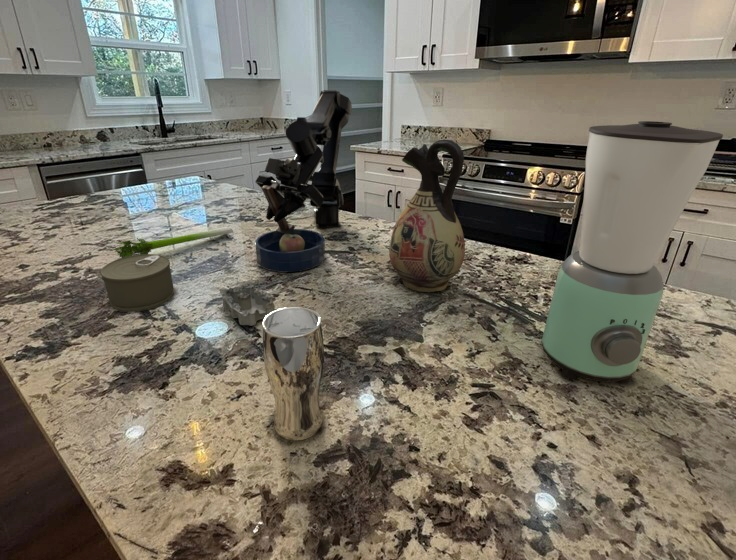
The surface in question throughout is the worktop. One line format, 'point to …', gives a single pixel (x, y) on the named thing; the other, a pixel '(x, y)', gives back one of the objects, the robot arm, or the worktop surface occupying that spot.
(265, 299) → the egg carton
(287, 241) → the apple
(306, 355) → the beer glass
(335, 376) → the worktop surface
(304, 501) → the worktop surface
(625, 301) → the blender
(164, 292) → the can
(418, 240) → the ceramic jug
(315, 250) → the bowl
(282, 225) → the dark brown piece
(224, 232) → the celery stalk
